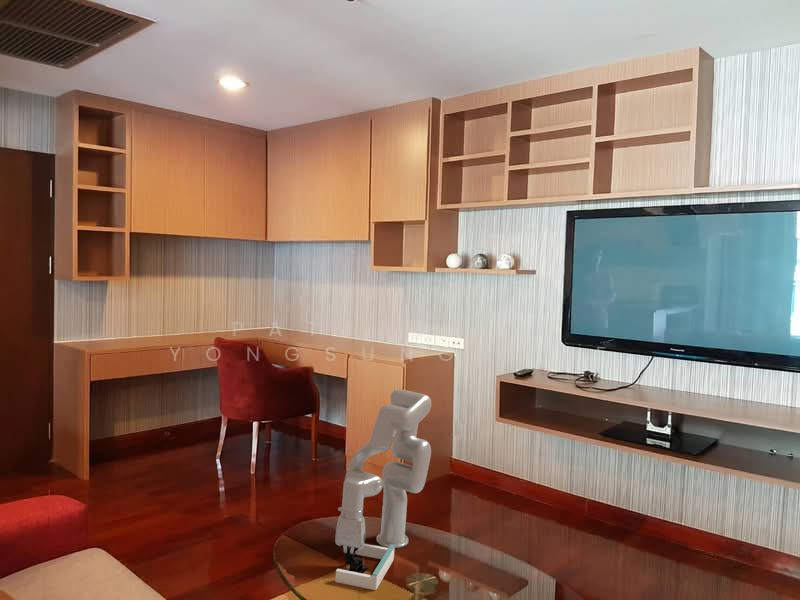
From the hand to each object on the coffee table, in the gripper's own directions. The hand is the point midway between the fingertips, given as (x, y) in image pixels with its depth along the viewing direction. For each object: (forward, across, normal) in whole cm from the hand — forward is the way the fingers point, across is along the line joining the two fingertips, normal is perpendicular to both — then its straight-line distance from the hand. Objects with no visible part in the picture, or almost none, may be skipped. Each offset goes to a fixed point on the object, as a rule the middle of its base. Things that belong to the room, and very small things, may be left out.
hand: (348, 562), depth 222 cm
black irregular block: (+2, +3, -2) cm, 4 cm away
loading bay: (+2, +7, 0) cm, 7 cm away
